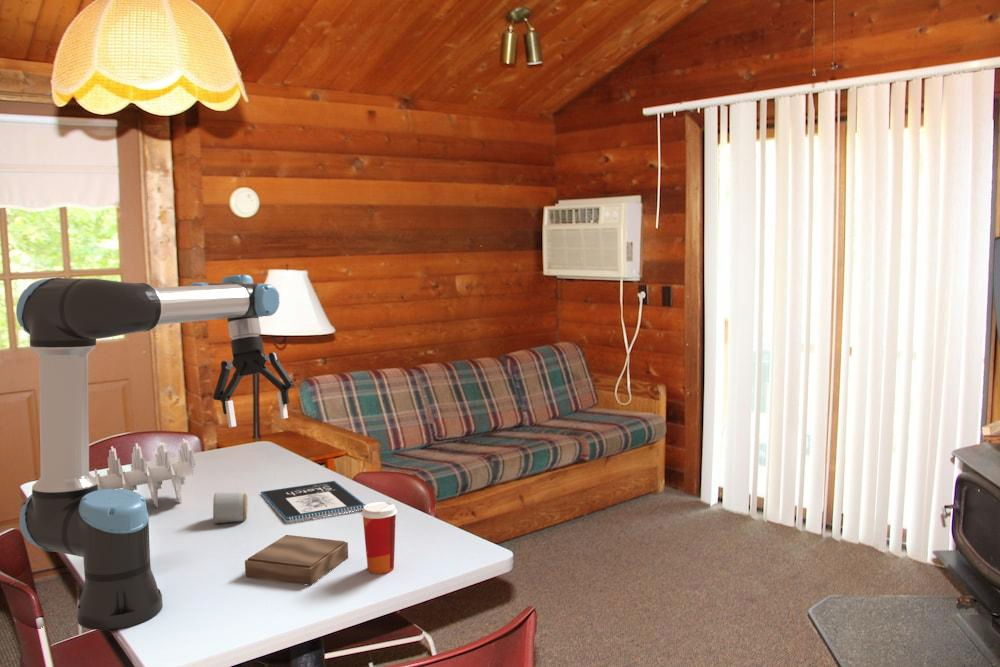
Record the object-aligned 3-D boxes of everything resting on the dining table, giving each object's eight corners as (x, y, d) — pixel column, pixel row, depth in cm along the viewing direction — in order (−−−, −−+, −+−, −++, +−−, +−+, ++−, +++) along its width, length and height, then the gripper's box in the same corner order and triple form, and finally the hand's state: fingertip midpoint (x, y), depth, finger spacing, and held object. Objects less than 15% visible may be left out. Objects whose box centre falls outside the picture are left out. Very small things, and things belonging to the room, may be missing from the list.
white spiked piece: (97, 523, 229) (194, 504, 240) (97, 513, 214) (200, 493, 225) (89, 458, 234) (184, 442, 245) (87, 443, 219) (189, 427, 230)
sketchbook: (334, 485, 251) (334, 478, 250) (368, 513, 224) (368, 505, 224) (260, 495, 241) (260, 488, 240) (287, 526, 214) (287, 518, 214)
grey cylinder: (247, 524, 215) (245, 494, 214) (213, 527, 213) (211, 497, 212) (248, 512, 225) (247, 483, 224) (216, 515, 223) (215, 486, 222)
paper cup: (381, 559, 190) (380, 499, 188) (405, 567, 185) (404, 505, 184) (355, 570, 184) (353, 508, 182) (379, 579, 179) (377, 515, 178)
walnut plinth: (311, 585, 176) (310, 567, 176) (245, 576, 181) (244, 558, 181) (348, 557, 191) (347, 540, 191) (286, 550, 196) (285, 533, 196)
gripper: (299, 329, 212) (312, 413, 211) (206, 346, 215) (218, 429, 214) (287, 328, 205) (301, 415, 203) (191, 345, 208) (204, 431, 207)
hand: (258, 422), depth 209 cm, fingers open, 13 cm apart
